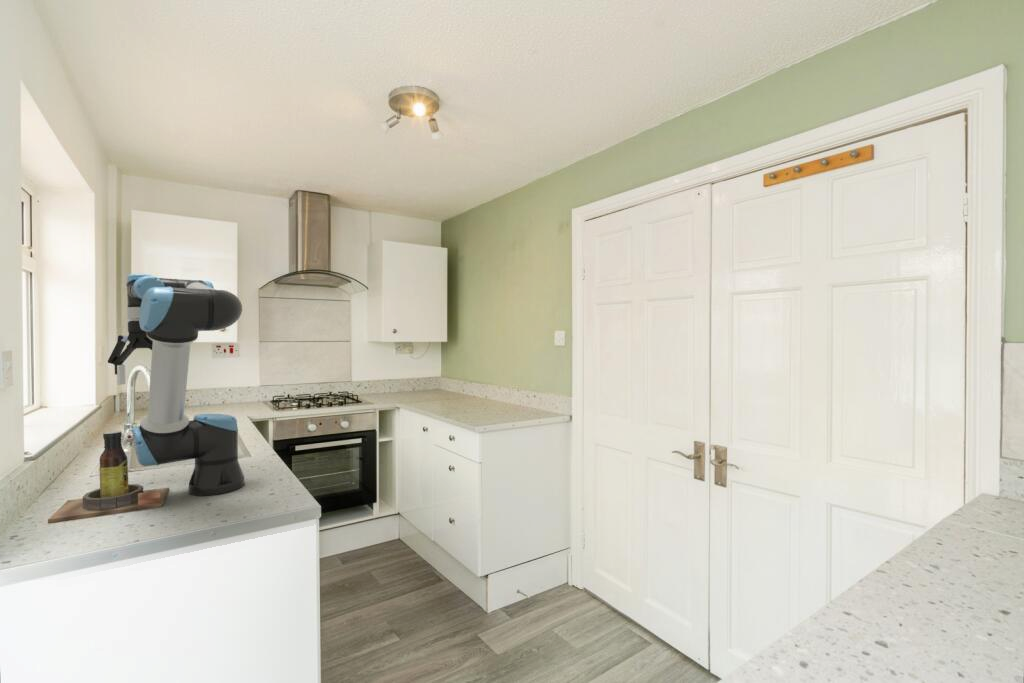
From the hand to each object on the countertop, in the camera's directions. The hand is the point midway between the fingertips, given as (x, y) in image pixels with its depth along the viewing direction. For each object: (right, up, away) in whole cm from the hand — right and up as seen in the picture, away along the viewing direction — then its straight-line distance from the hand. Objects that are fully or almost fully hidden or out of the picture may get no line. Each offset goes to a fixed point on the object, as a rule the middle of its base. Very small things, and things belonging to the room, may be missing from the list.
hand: (143, 383), depth 165 cm
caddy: (+11, -32, -26) cm, 43 cm away
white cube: (-15, -32, +9) cm, 36 cm away
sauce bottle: (+11, -32, -25) cm, 42 cm away
